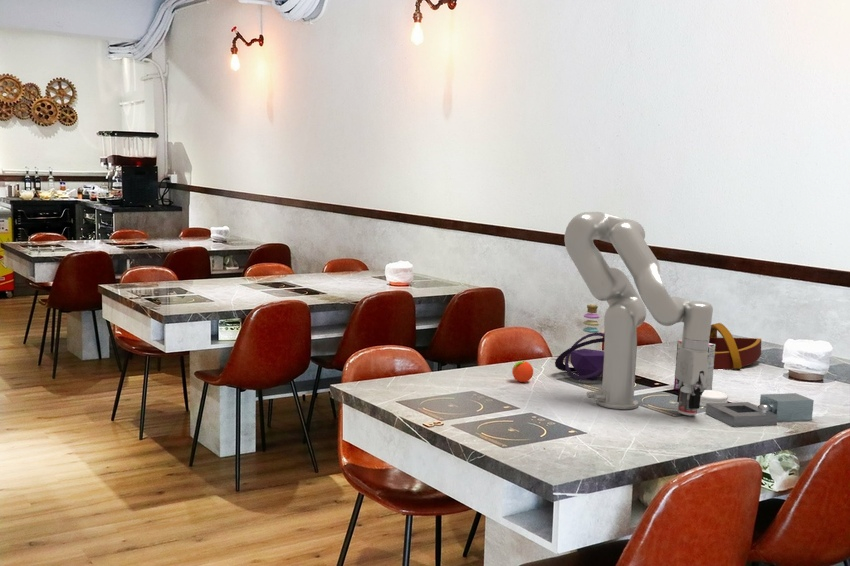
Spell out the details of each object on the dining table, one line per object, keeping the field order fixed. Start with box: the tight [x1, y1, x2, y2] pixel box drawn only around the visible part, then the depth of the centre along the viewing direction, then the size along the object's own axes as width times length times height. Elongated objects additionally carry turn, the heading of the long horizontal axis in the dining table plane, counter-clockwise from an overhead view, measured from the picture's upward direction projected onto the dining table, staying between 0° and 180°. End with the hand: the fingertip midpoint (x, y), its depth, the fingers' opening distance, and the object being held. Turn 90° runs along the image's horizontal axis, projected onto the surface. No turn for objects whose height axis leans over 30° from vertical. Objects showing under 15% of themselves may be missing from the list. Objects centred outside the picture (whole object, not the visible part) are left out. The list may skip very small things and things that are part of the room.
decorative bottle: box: [554, 303, 605, 380], centre depth 302 cm, size 22×21×25 cm
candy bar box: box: [673, 338, 715, 390], centre depth 287 cm, size 11×5×16 cm, turn 47°
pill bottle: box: [677, 382, 698, 416], centre depth 258 cm, size 5×5×10 cm
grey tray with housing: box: [705, 392, 815, 428], centre depth 258 cm, size 28×14×6 cm, turn 105°
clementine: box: [511, 360, 534, 383], centre depth 293 cm, size 8×7×7 cm
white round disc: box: [700, 389, 729, 408], centre depth 273 cm, size 10×10×4 cm
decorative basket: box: [709, 322, 762, 370], centre depth 338 cm, size 34×29×15 cm
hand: (688, 404), depth 258 cm, fingers closed on pill bottle, 5 cm apart
